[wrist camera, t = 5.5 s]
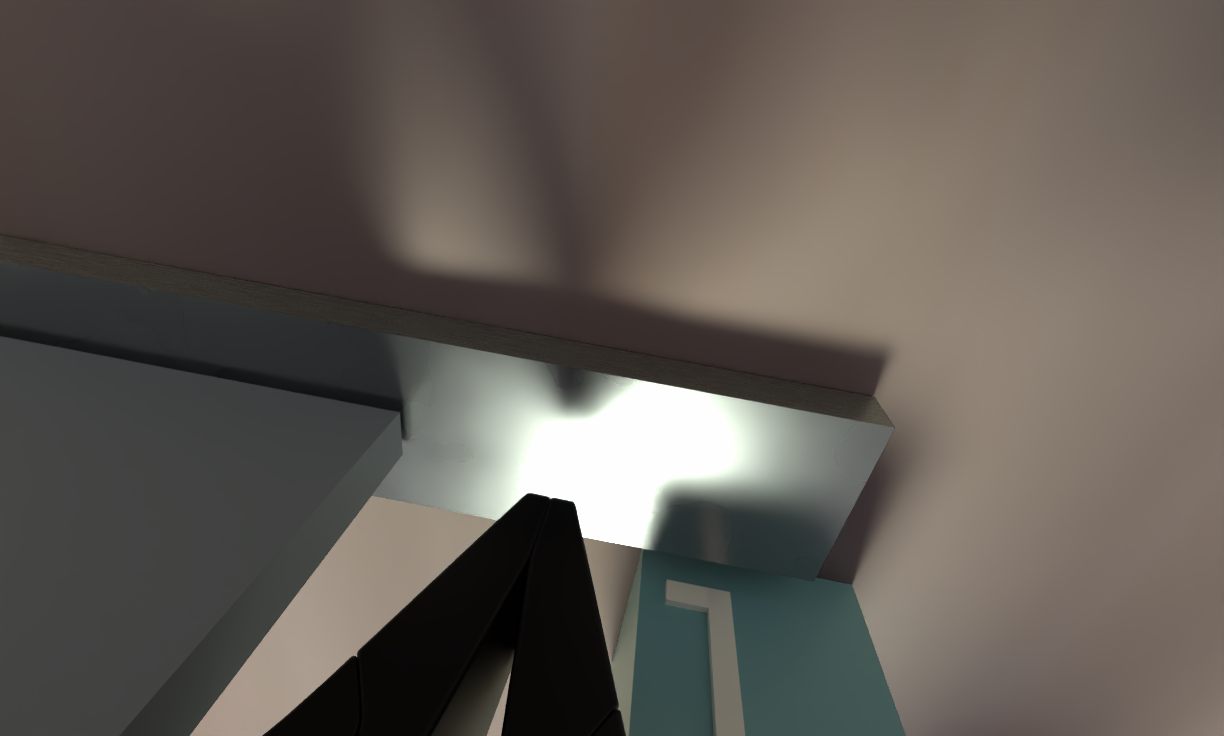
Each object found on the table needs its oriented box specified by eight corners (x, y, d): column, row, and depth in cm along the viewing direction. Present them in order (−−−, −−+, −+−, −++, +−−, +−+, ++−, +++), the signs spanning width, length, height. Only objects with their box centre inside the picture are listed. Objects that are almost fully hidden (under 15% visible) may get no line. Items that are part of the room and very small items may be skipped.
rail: (874, 396, 9) (894, 428, 9) (803, 544, 11) (813, 581, 10) (-185, 200, 10) (-268, 211, 9) (-79, 373, 12) (-139, 395, 11)
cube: (853, 577, 12) (956, 859, 7) (783, 695, 14) (830, 958, 10) (644, 535, 12) (626, 789, 8) (611, 660, 14) (583, 904, 10)
